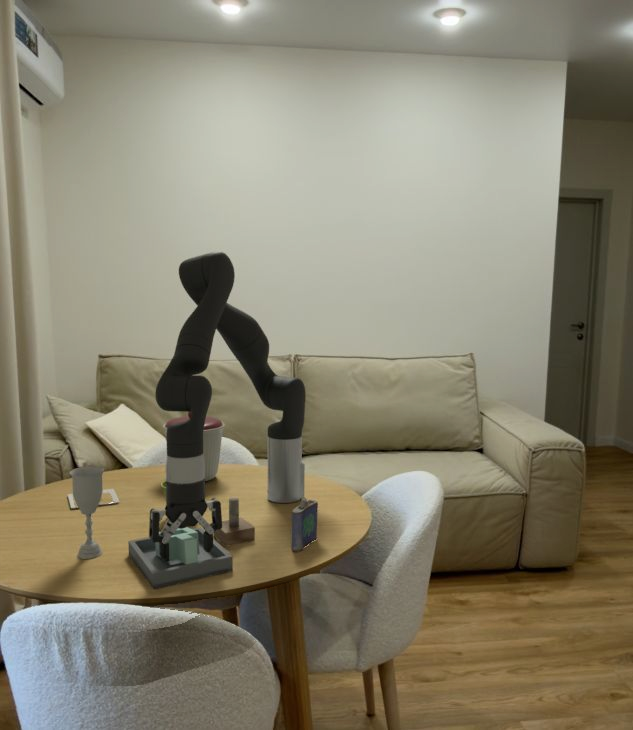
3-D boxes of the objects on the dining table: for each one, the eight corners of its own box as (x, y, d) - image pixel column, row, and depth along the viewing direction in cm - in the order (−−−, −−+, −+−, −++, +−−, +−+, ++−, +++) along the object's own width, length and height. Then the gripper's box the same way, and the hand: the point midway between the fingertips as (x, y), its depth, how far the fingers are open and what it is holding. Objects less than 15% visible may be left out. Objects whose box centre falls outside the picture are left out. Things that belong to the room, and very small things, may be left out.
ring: (188, 548, 134) (186, 527, 134) (209, 559, 123) (207, 536, 123) (156, 554, 130) (154, 533, 130) (174, 566, 119) (172, 543, 119)
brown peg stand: (241, 530, 146) (241, 492, 145) (254, 540, 140) (254, 501, 139) (213, 535, 143) (213, 497, 142) (225, 546, 137) (225, 506, 136)
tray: (200, 540, 140) (200, 527, 140) (232, 570, 125) (232, 556, 124) (128, 554, 132) (128, 541, 132) (153, 589, 117) (153, 574, 116)
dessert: (119, 505, 164) (119, 488, 163) (70, 512, 159) (70, 494, 158) (113, 492, 174) (113, 475, 174) (67, 498, 169) (66, 481, 169)
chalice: (78, 547, 136) (75, 466, 133) (110, 546, 136) (108, 466, 134) (68, 561, 128) (64, 476, 126) (101, 560, 129) (99, 475, 127)
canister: (163, 472, 193) (162, 404, 191) (222, 468, 197) (221, 403, 195) (163, 489, 176) (162, 416, 173) (228, 485, 180) (227, 413, 178)
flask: (298, 553, 134) (299, 504, 132) (287, 550, 135) (287, 502, 134) (319, 539, 142) (320, 493, 140) (308, 536, 143) (308, 491, 142)
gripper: (212, 466, 129) (213, 541, 131) (143, 476, 122) (145, 556, 124) (226, 475, 123) (227, 554, 125) (155, 486, 115) (157, 570, 117)
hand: (186, 555), depth 124 cm, fingers open, 8 cm apart
